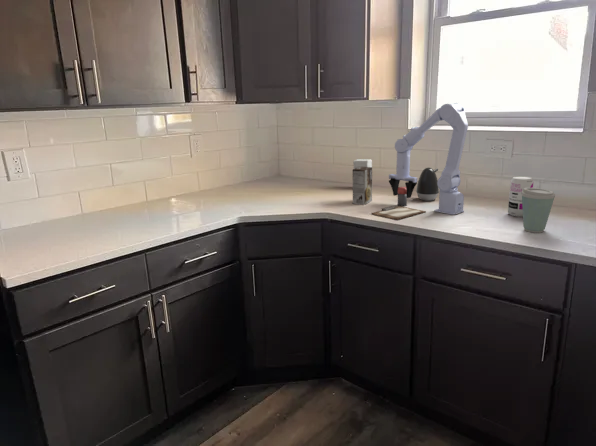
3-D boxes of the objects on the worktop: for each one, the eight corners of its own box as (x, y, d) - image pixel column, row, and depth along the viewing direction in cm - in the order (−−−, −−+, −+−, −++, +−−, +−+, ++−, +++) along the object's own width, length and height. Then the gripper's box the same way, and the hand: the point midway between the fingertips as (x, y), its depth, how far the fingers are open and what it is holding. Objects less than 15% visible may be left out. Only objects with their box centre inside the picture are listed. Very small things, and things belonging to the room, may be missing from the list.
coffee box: (359, 199, 225) (360, 166, 221) (372, 200, 222) (372, 166, 218) (351, 203, 218) (351, 169, 213) (364, 204, 214) (365, 169, 210)
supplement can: (531, 213, 190) (534, 176, 187) (528, 218, 184) (532, 180, 180) (509, 211, 194) (512, 175, 191) (506, 216, 188) (509, 178, 184)
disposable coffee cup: (541, 226, 172) (545, 185, 168) (557, 234, 162) (562, 191, 158) (512, 227, 172) (516, 186, 168) (527, 235, 162) (531, 192, 158)
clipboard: (425, 212, 197) (426, 208, 196) (397, 220, 186) (397, 216, 186) (399, 207, 208) (399, 203, 207) (371, 214, 197) (371, 210, 196)
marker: (408, 205, 211) (409, 187, 209) (402, 206, 209) (403, 189, 206) (401, 203, 214) (401, 186, 212) (395, 205, 212) (395, 187, 210)
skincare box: (372, 188, 252) (372, 159, 248) (367, 190, 247) (367, 160, 243) (358, 187, 256) (358, 158, 252) (353, 189, 251) (353, 160, 247)
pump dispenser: (443, 200, 218) (445, 168, 214) (424, 202, 214) (426, 169, 210) (429, 196, 227) (431, 165, 223) (411, 198, 223) (412, 167, 220)
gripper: (422, 166, 204) (421, 197, 207) (396, 163, 215) (395, 192, 218) (411, 168, 200) (410, 199, 203) (385, 165, 211) (385, 195, 214)
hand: (402, 196), depth 210 cm, fingers open, 7 cm apart
